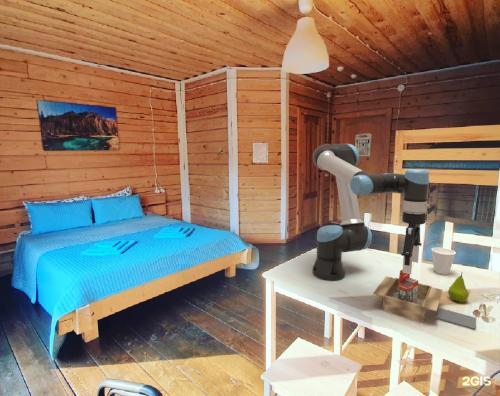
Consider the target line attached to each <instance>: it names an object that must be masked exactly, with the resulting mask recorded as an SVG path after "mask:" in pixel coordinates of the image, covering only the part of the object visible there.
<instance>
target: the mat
mask: <svg viewBox="0 0 500 396" xmlns="http://www.w3.org/2000/svg"><path fill="white" fill-rule="evenodd" d="M436 313H437V314H436V320H439V321H442V322H446V323H448V324H452V325H455V326H460V327H463V328H466V329H469V330H472V331H473V330H474V331H476V325H477V317H475V316H472V315H471V316H470V315H467V314H464V313H460V312H456V311H453V310H449V309H445V308H441V307H438V309H437V312H436Z"/></svg>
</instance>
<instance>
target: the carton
mask: <svg viewBox="0 0 500 396" xmlns="http://www.w3.org/2000/svg"><path fill="white" fill-rule="evenodd" d="M398 290H399V277H391V276H387V275H386V276H385V277H383V280H382V281H381V282H380V284H378V286H377V287H376V289H375V290H374V291H373V293H372V294H373V295H377V296H380V297H382V298H383V299H382V311H383V312H386V313H389V314H392V315H396V316H398V317H403V318H405V319H409V320H412V321H415V322H418V323H424V320H425V317H426V314H427V311H428V310H430V311H433V312H438V309H439V303H440V300H441V297H442V294H443V289H442V288H438V287H433V286H432V285H429V284H425V283H424V284H423V283H419V282H418V295H417V299H421V300H423V303H422V304H418V303H417V304H415V303H411V302H407V301H404V300H400V299H398V297H397V298H396V297H394V295H395V294H396V293H398Z"/></svg>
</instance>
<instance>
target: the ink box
mask: <svg viewBox="0 0 500 396" xmlns="http://www.w3.org/2000/svg"><path fill="white" fill-rule="evenodd" d="M398 278H399V290H398V292H397V299H400V300H404V301H407V302H411V303H415V304H418V298H417V295H418V283H419V280H418V279H415V278H412V277H411V274H407V273H403V269H401V270H399V276H398Z"/></svg>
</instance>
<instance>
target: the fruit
mask: <svg viewBox="0 0 500 396" xmlns="http://www.w3.org/2000/svg"><path fill="white" fill-rule="evenodd" d="M447 291H448V292H447V293H448V296H449V298H451V299H452V300H454V301H456V302H459V303H460V302H461V303H463V302H465V301H467V299H468V297H469V294H470V293H469V291H468V289H467V288H466V284H465V280H464V278H463V272H461V274H460V275H459V276H458V277H456V279H455V280H454V282H453V283H452V284H451V285H450V286H449V289H448V290H447Z"/></svg>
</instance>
